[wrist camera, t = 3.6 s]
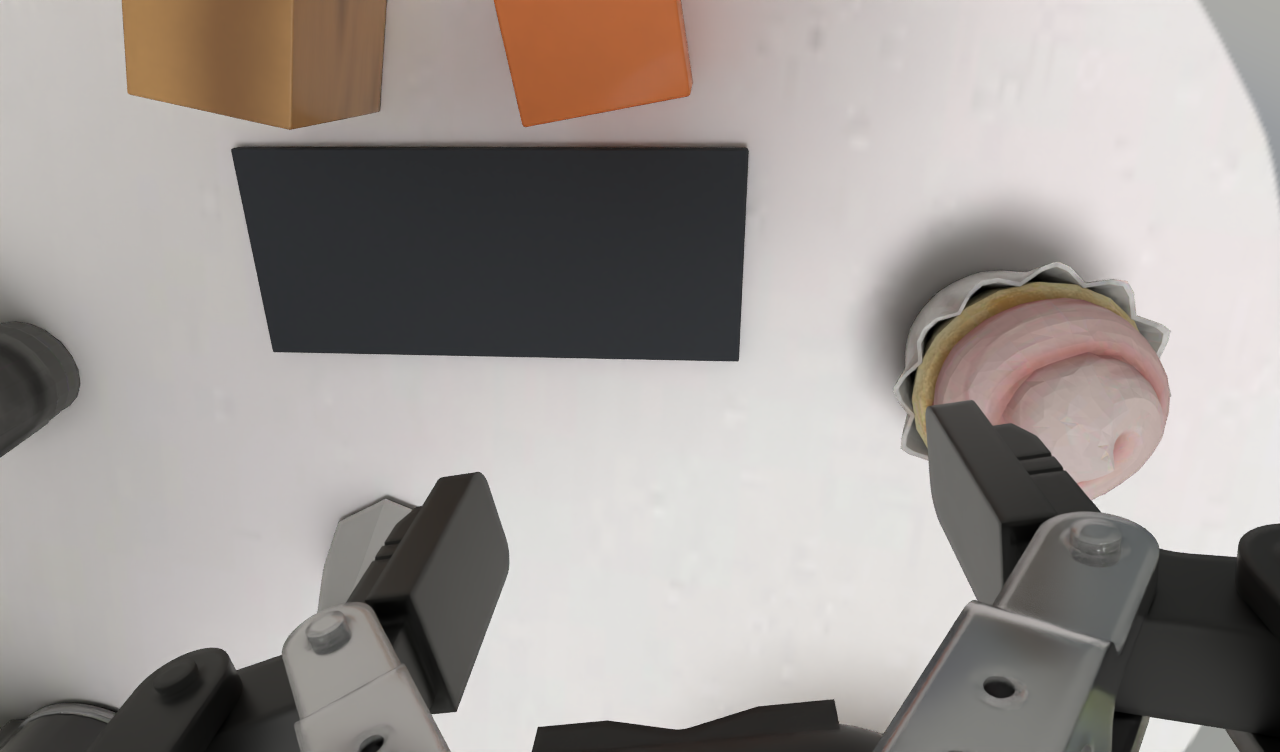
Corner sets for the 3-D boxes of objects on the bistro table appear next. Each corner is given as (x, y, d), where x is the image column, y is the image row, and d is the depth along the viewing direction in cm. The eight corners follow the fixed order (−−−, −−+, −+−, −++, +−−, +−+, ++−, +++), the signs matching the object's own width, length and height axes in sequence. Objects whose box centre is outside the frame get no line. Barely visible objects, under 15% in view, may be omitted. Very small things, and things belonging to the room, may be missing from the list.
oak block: (251, 83, 29) (126, 94, 23) (251, -63, 27) (114, -97, 21) (379, 112, 30) (290, 130, 23) (388, -33, 28) (294, -56, 21)
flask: (503, 563, 37) (439, 730, 28) (418, 644, 40) (333, 821, 31) (383, 472, 36) (274, 617, 27) (301, 562, 38) (176, 723, 29)
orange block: (561, 109, 29) (522, 127, 23) (530, -38, 27) (478, -64, 21) (693, 84, 28) (690, 95, 22) (670, -69, 26) (661, -106, 20)
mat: (279, 347, 34) (272, 352, 33) (238, 146, 30) (230, 148, 30) (738, 356, 32) (738, 361, 32) (747, 147, 29) (748, 149, 29)
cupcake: (1000, 481, 34) (1112, 643, 25) (823, 379, 32) (871, 510, 23) (1159, 307, 30) (1359, 420, 21) (968, 185, 29) (1092, 249, 20)
